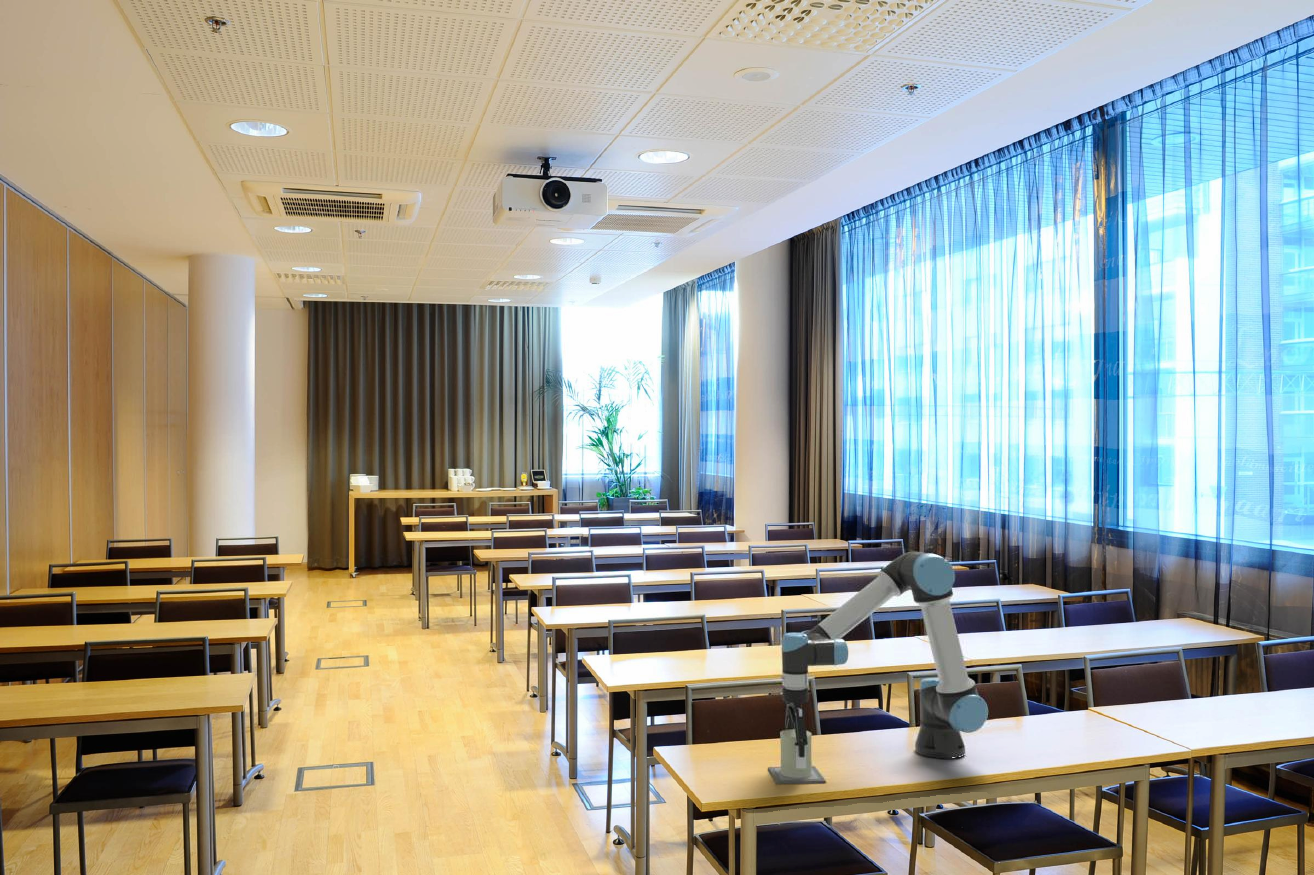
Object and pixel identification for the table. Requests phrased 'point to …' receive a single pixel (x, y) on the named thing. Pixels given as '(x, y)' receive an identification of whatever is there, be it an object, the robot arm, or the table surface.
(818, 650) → the robot arm
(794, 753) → the can
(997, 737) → the table surface
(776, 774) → the coaster
